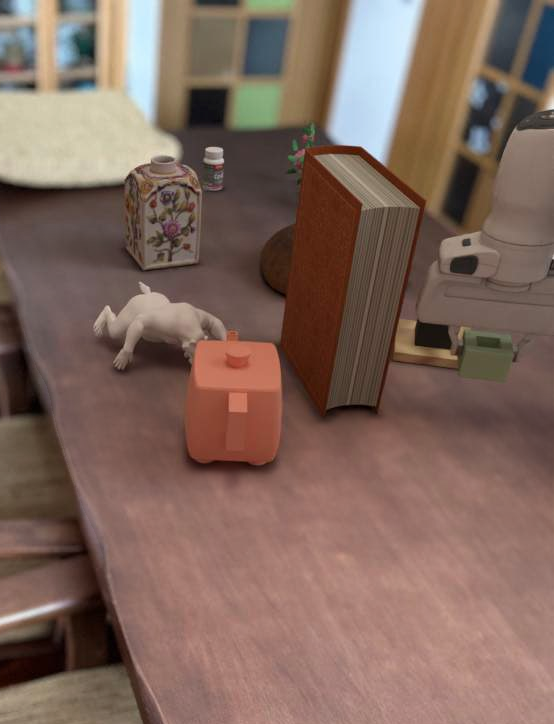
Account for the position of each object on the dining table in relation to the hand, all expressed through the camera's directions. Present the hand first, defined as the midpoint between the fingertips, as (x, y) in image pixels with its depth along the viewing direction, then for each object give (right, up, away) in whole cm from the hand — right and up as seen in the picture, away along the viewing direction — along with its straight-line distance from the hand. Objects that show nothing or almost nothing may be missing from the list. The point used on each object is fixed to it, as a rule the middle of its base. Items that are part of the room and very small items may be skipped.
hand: (483, 357), depth 110 cm
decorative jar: (-43, +30, +50) cm, 72 cm away
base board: (+1, +7, +23) cm, 24 cm away
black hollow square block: (+1, +8, +22) cm, 23 cm away
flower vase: (-7, +50, +73) cm, 89 cm away
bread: (-11, +25, +44) cm, 51 cm away
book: (-18, 0, +16) cm, 24 cm away
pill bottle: (-30, +57, +80) cm, 103 cm away
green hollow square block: (0, -1, +1) cm, 2 cm away
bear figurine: (-43, +6, +22) cm, 48 cm away
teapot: (-34, -11, +2) cm, 36 cm away
